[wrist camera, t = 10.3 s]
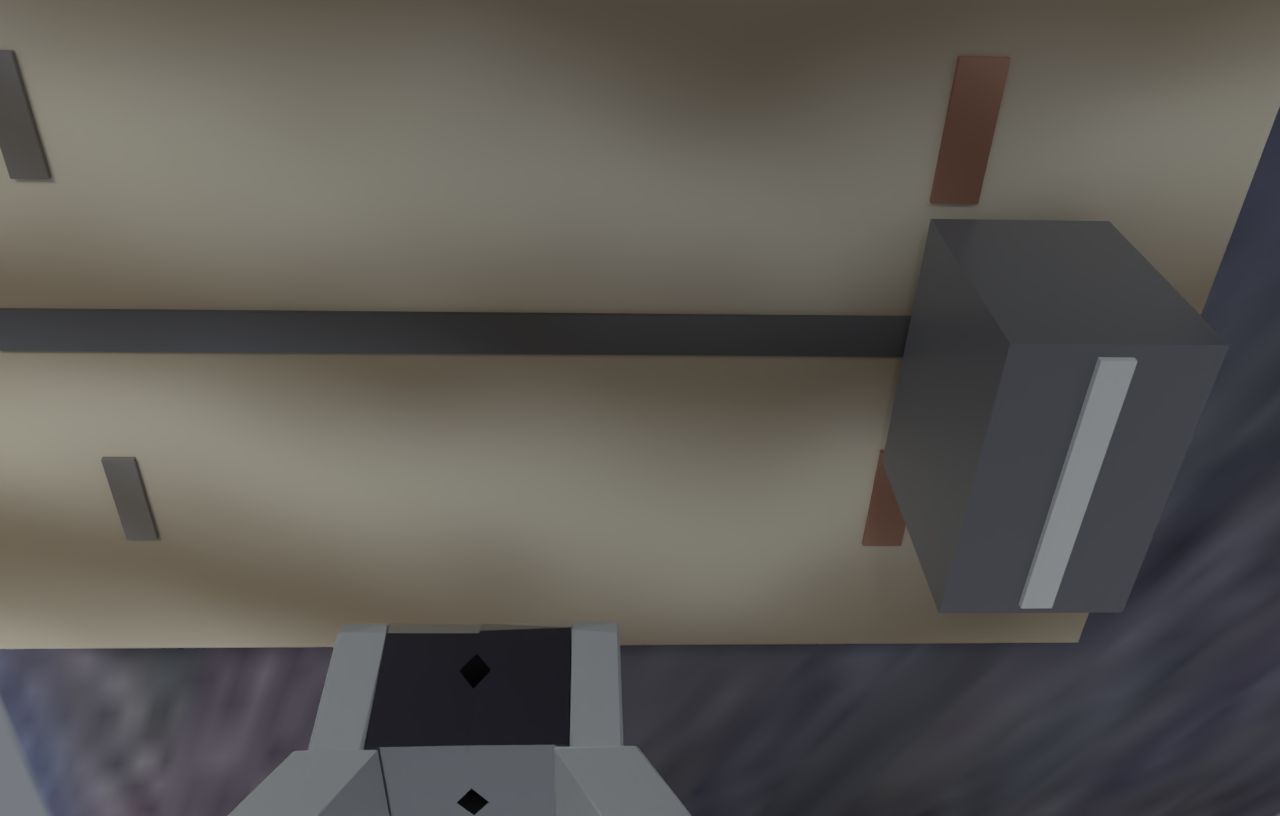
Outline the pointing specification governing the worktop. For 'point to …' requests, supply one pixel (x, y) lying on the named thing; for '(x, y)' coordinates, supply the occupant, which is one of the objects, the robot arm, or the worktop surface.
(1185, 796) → the worktop surface
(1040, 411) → the fader knob
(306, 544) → the console
